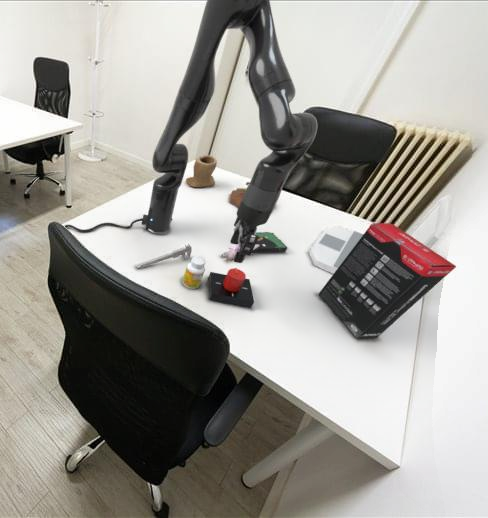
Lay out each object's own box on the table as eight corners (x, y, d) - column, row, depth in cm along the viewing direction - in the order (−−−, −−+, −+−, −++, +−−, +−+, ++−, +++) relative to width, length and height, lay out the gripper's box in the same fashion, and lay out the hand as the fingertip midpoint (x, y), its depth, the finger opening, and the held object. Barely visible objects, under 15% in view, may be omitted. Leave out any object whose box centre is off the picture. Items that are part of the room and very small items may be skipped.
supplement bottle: (180, 277, 95) (187, 254, 89) (196, 277, 95) (203, 254, 89) (185, 289, 91) (192, 266, 85) (201, 289, 91) (210, 265, 85)
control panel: (209, 300, 88) (212, 293, 86) (207, 278, 95) (210, 271, 93) (250, 308, 86) (254, 301, 84) (246, 285, 93) (249, 278, 91)
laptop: (327, 226, 123) (366, 166, 106) (398, 253, 110) (455, 189, 94) (302, 260, 105) (344, 193, 88) (383, 296, 92) (451, 227, 75)
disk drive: (247, 254, 106) (285, 253, 108) (250, 248, 104) (288, 247, 106) (234, 238, 114) (270, 236, 115) (237, 232, 112) (272, 231, 114)
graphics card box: (379, 340, 79) (463, 264, 61) (355, 341, 78) (434, 265, 61) (335, 294, 92) (394, 221, 74) (314, 294, 91) (369, 221, 74)
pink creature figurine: (228, 267, 102) (263, 252, 105) (231, 255, 98) (267, 239, 101) (217, 256, 106) (250, 242, 109) (219, 244, 102) (253, 230, 105)
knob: (241, 293, 86) (247, 280, 83) (224, 290, 87) (229, 277, 84) (238, 281, 90) (244, 269, 87) (221, 279, 91) (227, 266, 87)
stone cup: (193, 191, 144) (201, 162, 135) (182, 181, 153) (189, 152, 143) (220, 189, 147) (229, 160, 138) (208, 179, 156) (216, 151, 147)
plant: (223, 204, 135) (231, 181, 128) (235, 189, 148) (242, 168, 141) (269, 218, 127) (280, 194, 120) (277, 201, 140) (287, 179, 132)
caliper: (187, 256, 104) (192, 242, 100) (189, 258, 103) (193, 244, 99) (135, 267, 98) (138, 252, 94) (137, 269, 97) (139, 254, 93)
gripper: (239, 186, 77) (219, 235, 88) (246, 213, 66) (224, 266, 77) (268, 190, 76) (245, 240, 87) (281, 219, 65) (253, 271, 76)
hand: (235, 252), depth 82 cm, fingers open, 8 cm apart
